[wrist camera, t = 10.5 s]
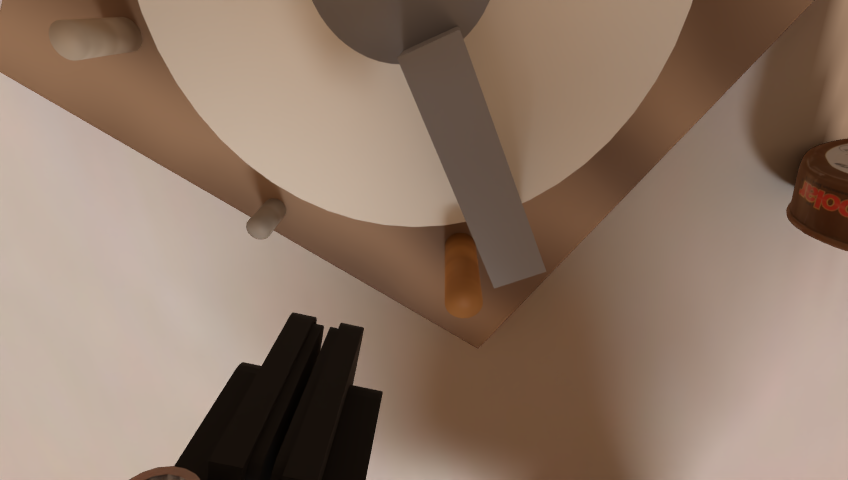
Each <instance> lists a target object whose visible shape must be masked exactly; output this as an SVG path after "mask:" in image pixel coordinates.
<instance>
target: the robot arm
mask: <svg viewBox="0 0 848 480" xmlns="http://www.w3.org/2000/svg"><path fill="white" fill-rule="evenodd" d="M316 321H317V320H316V317H312V316H307V315H303V314H298V313H292V314H291V315H290V317H289V318H288V320H287V322H286V324H285V326H284V327H283V329H282V331H281V333H280V334H279V336H278V338H277V340H276V342H275V343H274V345H273V347H272V349H271V350H270V352H269V354H268V356H267V357H266V359H265V361H264V363H263V365H262V366H258V365H254V364H249V363H244V362H242V363H241V364H239V366H238V367H237V368H236V370H235V371H234V373H233V374H232V376H231V378H230V379H229V381H228V382H227V384H226V385H225V387H224V389H223V390H222V392H221V393H220V395H219V396H218V398H217V400H216V401H215V403H214V404H213V406H212V408H211V409H210V411H209V412H208V414H207V415H206V417H205V419H204V420H203V422H202V423H201V425H200V426H199V428H198V430H197V431H196V433H195V434H194V436H193V437H192V439H191V441H190V442H189V444H188V445H187V447H186V448H185V450H184V452H183V453H182V455H181V456H180V458H179V460H178V461H177V463H176V464H175V466H170V467H158V468H155V469H151V470H148V471H145V472H142V473H140V474H139V475H137V476H135V477H133V478H131V479H130V480H366V475H367V470H368V465H369V460H370V454H371V449H372V444H373V439H374V434H375V429H376V424H377V419H378V413H379V408H380V403H381V398H382V391H377V390H372V389H368V388H363V387H358V386H353V381H354V376H355V371H356V366H357V361H358V356H359V351H360V346H361V341H362V336H363V330H364V328H363V327H358V326H354V325H349V324H344V323H341V324H340V326H339V328H338V329H337V328H333V327H330V329H329V331H328V333H327V336H326V338H325V341H324V343H323V346H322V348H321V343H322V337H323V330H324V326H323V325H319V324H316ZM320 350H321V351H320Z"/></svg>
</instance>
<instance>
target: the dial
mask: <svg viewBox="0 0 848 480" xmlns="http://www.w3.org/2000/svg"><path fill="white" fill-rule="evenodd" d="M692 1H693V0H138V3H139V6H140V9H141V12H142V15H143V17H144V19H145V21H146V24H147V26H148V28H149V31H150V33H151V35H152V38H153V40H154V42H155V44H156V47H157V49H158V51H159V53H160V55H161V56H162V58H163V60H164V62H165V63H166V65H167V67H168V69H169V71H170V72H171V74H172V76H173V78H174V79H175V81H176V83H177V84H178V86H179V87H180V89H181V90H182V92H183V93H184V94H185V96H186V97H187V99H188V100H189V101H190V103H191V104H192V106H193V107H194V109H195V110H196V111H197V113H198V114H199V115H200V116H201V118H202V119H203V120H204V121H205V122H206V123H207V124H208V125H209V127H210V128H211V129H212V130H213V131H214V132H215V133H216V135H217V136H218V137H219V138H220V139H221V140H222V141H223V142H224V143H225V144H226V145H227V146H228V147H229V148H230V149H231V150H233V151H234V152H235V153H236V154H237V155H238V156H239V157H240V158H241V159H242V160H243V161H244V162H246V163H247V164H248V165H249V166H251V167H252V168H253V169H255V170H256V171H257V172H259V173H260V174H262V175H263V176H264V177H266V178H267V179H268V180H270V181H271V182H272V183H274V184H276V185H277V186H279V187H281V188H283V189H284V190H286V191H288V192H289V193H291V194H293V195H295V196H296V197H298V198H300V199H302V200H304V201H307V202H309V203H311V204H313V205H316V206H318V207H320V208H322V209H325V210H327V211H330V212H333V213H336V214H340V215H343V216H346V217H349V218H352V219H356V220H361V221H366V222H371V223H377V224H382V225H392V226H406V227H425V226H444V225H450V224H456V223H461V222H466V223H467V225H468V228H469V230H470V232H471V235H472V237H473V239H474V242H475V244H476V247H477V249H478V251H479V254H480V256H481V258H482V261H483V263H484V265H485V268H486V270H487V273H488V275H489V277H490V280H491V282H492V284H493V287H494V289H495V288H498V287H501V286H504V285H507V284H510V283H513V282H516V281H519V280H522V279H525V278H528V277H531V276H535V275H538V274H541V273H544V272H546V269H545V266H544V263H543V261H542V258H541V255H540V252H539V249H538V247H537V244H536V241H535V238H534V235H533V233H532V230H531V227H530V224H529V221H528V219H527V216H526V213H525V210H524V207H523V205H522V203H524V202H526V201H529V200H531V199H532V198H534V197H536V196H538V195H539V194H541V193H543V192H545V191H546V190H548V189H550V188H552V187H553V186H555V185H557V184H558V183H560V182H561V181H563V180H564V179H565V178H567V177H568V176H569V175H571V174H572V173H573V172H575V171H576V170H577V169H579V168H580V167H581V166H583V165H584V164H585V163H586V162H588V161H589V160H590V159H591V158H592V157H593V156H594V155H595V154H596V153H597V152H598V151H599V150H600V149H602V148H603V147H604V146H605V145H606V144H607V143H608V142H609V141H610V140H611V139H612V138H613V137H614V135H615V134H616V133H617V132H618V131H619V130H620V129H621V127H622V126H623V125H624V124H625V123H626V122H627V120H628V119H629V118H630V117H631V116H632V115H633V113H634V112H635V111H636V109H637V108H638V106H639V105H640V103H641V102H642V101H643V99H644V98H645V96H646V95H647V93H648V92H649V90H650V89H651V87H652V86H653V85H654V83H655V82H656V80H657V78H658V76H659V74H660V72H661V71H662V69H663V67H664V65H665V63H666V61H667V60H668V58H669V56H670V54H671V52H672V50H673V48H674V47H675V44H676V42H677V39H678V37H679V35H680V32H681V30H682V27H683V25H684V22H685V20H686V17H687V15H688V12H689V10H690V8H691V5H692Z"/></svg>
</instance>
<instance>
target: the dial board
mask: <svg viewBox="0 0 848 480" xmlns="http://www.w3.org/2000/svg"><path fill="white" fill-rule="evenodd" d="M813 1H814V0H693V1H692V5H691V8H690V10H689V12H688V15H687V17H686V20H685V22H684V25H683V27H682V30H681V32H680V35H679V37H678V39H677V42H676V44H675V47H674V48H673V50H672V52H671V54H670V56H669V58H668V60H667V61H666V63H665V65H664V67H663V69H662V71H661V72H660V74H659V76H658V78H657V80H656V82H655V83H654V85H653V86H652V87H651V89H650V90H649V92H648V93H647V95H646V96H645V98H644V99H643V101H642V102H641V103H640V105H639V106H638V108H637V109H636V111H635V112H634V113H633V115H632V116H631V117H630V118H629V119H628V120H627V122H626V123H625V124H624V125H623V126H622V127H621V129H620V130H619V131H618V132H617V133H616V134H615V135H614V137H613V138H612V139H611V140H610V141H609V142H608V143H607V144H606V145H605V146H604V147H603V148H602V149H600V150H599V151H598V152H597V153H596V154H595V155H594V156H593V157H592V158H591V159H590V160H589V161H588V162H586V163H585V164H584V165H583V166H581V167H580V168H579V169H577V170H576V171H575V172H573V173H572V174H571V175H569V176H568V177H567V178H565V179H564V180H563V181H561V182H560V183H558V184H557V185H555V186H553V187H552V188H550V189H548V190H546V191H545V192H543V193H541V194H539V195H538V196H536V197H534V198H532V199H531V200H529V201H526V202H524V203H522V205H523V207H524V210H525V213H526V216H527V219H528V221H529V224H530V227H531V230H532V233H533V235H534V238H535V241H536V244H537V247H538V249H539V252H540V255H541V258H542V261H543V263H544V266H545V269H546V272H544V273H541V274H538V275H535V276H531V277H528V278H525V279H522V280H519V281H516V282H513V283H510V284H507V285H504V286H501V287H498V288H495V289H494V287H493V284H492V282H491V280H490V277H489V275H488V273H487V270H486V268H485V265H484V263H483V261H482V258H481V256H480V254H479V251H478V249H477V247H476V244H475V242H474V239H473V237H472V235H471V232H470V230H469V228H468V225H467V223H466V222H461V223H456V224H450V225H444V226H425V227H406V226H392V225H382V224H377V223H371V222H366V221H361V220H356V219H352V218H349V217H346V216H343V215H340V214H336V213H333V212H330V211H327V210H325V209H322V208H320V207H318V206H316V205H313V204H311V203H309V202H307V201H304V200H302V199H300V198H298V197H296V196H295V195H293V194H291V193H289V192H288V191H286V190H284V189H283V188H281V187H279V186H277V185H276V184H274V183H272V182H271V181H270V180H268V179H267V178H266V177H264V176H263V175H262V174H260V173H259V172H257V171H256V170H255V169H253V168H252V167H251V166H249V165H248V164H247V163H246V162H244V161H243V160H242V159H241V158H240V157H239V156H238V155H237V154H236V153H235V152H234V151H233V150H231V149H230V148H229V147H228V146H227V145H226V144H225V143H224V142H223V141H222V140H221V139H220V138H219V137H218V136H217V135H216V133H215V132H214V131H213V130H212V129H211V128H210V127H209V125H208V124H207V123H206V122H205V121H204V120H203V119H202V118H201V116H200V115H199V114H198V113H197V111H196V110H195V109H194V107H193V106H192V104H191V103H190V101H189V100H188V99H187V97H186V96H185V94H184V93H183V92H182V90H181V89H180V87H179V86H178V84H177V83H176V81H175V79H174V78H173V76H172V74H171V72H170V71H169V69H168V67H167V65H166V63H165V62H164V60H163V58H162V56H161V55H160V53H159V51H158V49H157V47H156V44H155V42H154V40H153V38H152V35H151V33H150V31H149V28H148V26H147V24H146V21H145V19H144V17H143V15H142V12H141V9H140V6H139V3H138V0H2V5H1V10H0V72H1V73H3V74H4V75H6V76H8V77H10V78H11V79H13V80H15V81H17V82H18V83H20V84H22V85H23V86H25V87H27V88H29V89H30V90H32V91H34V92H36V93H37V94H39V95H41V96H42V97H44V98H46V99H48V100H49V101H51V102H53V103H55V104H56V105H58V106H60V107H61V108H63V109H65V110H67V111H68V112H70V113H72V114H74V115H75V116H77V117H79V118H80V119H82V120H84V121H86V122H87V123H89V124H91V125H93V126H94V127H96V128H98V129H99V130H101V131H103V132H105V133H106V134H108V135H110V136H112V137H113V138H115V139H117V140H119V141H120V142H122V143H124V144H125V145H127V146H129V147H131V148H132V149H134V150H136V151H138V152H139V153H141V154H143V155H144V156H146V157H148V158H150V159H151V160H153V161H155V162H157V163H158V164H160V165H162V166H163V167H165V168H167V169H169V170H170V171H172V172H174V173H176V174H177V175H179V176H181V177H182V178H184V179H186V180H188V181H189V182H191V183H193V184H195V185H196V186H198V187H200V188H201V189H203V190H205V191H207V192H208V193H210V194H212V195H214V196H215V197H217V198H219V199H220V200H222V201H224V202H226V203H227V204H229V205H231V206H233V207H234V208H236V209H238V210H239V211H241V212H243V213H245V214H246V215H248V216H250V217H251V218H250V219H249V221H248V222H247V225H246V228H247V231H248V233H249V234H250V235H251V236H252V237H254V238H256V239H266V238H268V237H269V236H270V234H271V233H272V232H273V230H274V231H276V232H278V233H279V234H281V235H283V236H284V237H286V238H288V239H290V240H291V241H293V242H295V243H297V244H298V245H300V246H302V247H303V248H305V249H307V250H309V251H310V252H312V253H314V254H316V255H317V256H319V257H321V258H322V259H324V260H326V261H328V262H329V263H331V264H333V265H335V266H336V267H338V268H340V269H341V270H343V271H345V272H347V273H348V274H350V275H352V276H354V277H355V278H357V279H359V280H360V281H362V282H364V283H366V284H367V285H369V286H371V287H373V288H374V289H376V290H378V291H379V292H381V293H383V294H385V295H386V296H388V297H390V298H392V299H393V300H395V301H397V302H398V303H400V304H402V305H404V306H405V307H407V308H409V309H411V310H412V311H414V312H416V313H418V314H419V315H421V316H423V317H424V318H426V319H428V320H430V321H431V322H433V323H435V324H437V325H438V326H440V327H442V328H443V329H445V330H447V331H449V332H450V333H452V334H454V335H456V336H457V337H459V338H461V339H462V340H464V341H466V342H468V343H469V344H471V345H473V346H475V347H476V348H479V347H480V346H481V345H482V344H483V343H484V342H485V341H486V340H487V339H488V338H489V337H490V336H491V335H492V334H493V333H494V332H495V331H496V330H497V328H498V327H499V326H500V325H501V324H502V323H503V322H504V321H505V320H506V319H507V318H508V317H509V316H510V315H511V314H512V313H513V312H514V311H515V310H516V309H517V308H518V307H519V306H520V305H521V304H522V303H523V302H524V301H525V299H526V298H527V297H528V296H529V295H530V294H531V293H532V292H533V291H534V290H535V289H536V288H537V287H538V286H539V285H540V284H541V283H542V282H543V281H544V280H545V279H546V278H547V277H548V276H549V275H550V274H551V273H552V272H553V270H554V269H555V268H556V267H557V266H558V265H559V264H560V263H561V262H562V261H563V260H564V259H565V258H566V257H567V256H568V255H569V254H570V253H571V252H572V251H573V250H574V249H575V248H576V247H577V246H578V245H579V244H580V243H581V241H582V240H583V239H584V238H585V237H586V236H587V235H588V234H589V233H590V232H591V231H592V230H593V229H594V228H595V227H596V226H597V225H598V224H599V223H600V222H601V221H602V220H603V219H604V218H605V217H606V216H607V215H608V214H609V212H610V211H611V210H612V209H613V208H614V207H615V206H616V205H617V204H618V203H619V202H620V201H621V200H622V199H623V198H624V197H625V196H626V195H627V194H628V193H629V192H630V191H631V190H632V189H633V188H634V187H635V186H636V185H637V183H638V182H639V181H640V180H641V179H642V178H643V177H644V176H645V175H646V174H647V173H648V172H649V171H650V170H651V169H652V168H653V167H654V166H655V165H656V164H657V163H658V162H659V161H660V160H661V159H662V158H663V157H664V156H665V154H666V153H667V152H668V151H669V150H670V149H671V148H672V147H673V146H674V145H675V144H676V143H677V142H678V141H679V140H680V139H681V138H682V137H683V136H684V135H685V134H686V133H687V132H688V131H689V130H690V129H691V128H692V127H693V125H694V124H695V123H696V122H697V121H698V120H699V119H700V118H701V117H702V116H703V115H704V114H705V113H706V112H707V111H708V110H709V109H710V108H711V107H712V106H713V105H714V104H715V103H716V102H717V101H718V100H719V99H720V98H721V96H722V95H723V94H724V93H725V92H726V91H727V90H728V89H729V88H730V87H731V86H732V85H733V84H734V83H735V82H736V81H737V80H738V79H739V78H740V77H741V76H742V75H743V74H744V73H745V72H746V71H747V70H748V69H749V67H750V66H751V65H752V64H753V63H754V62H755V61H756V60H757V59H758V58H759V57H760V56H761V55H762V54H763V53H764V52H765V51H766V50H767V49H768V48H769V47H770V46H771V45H772V44H773V43H774V42H775V41H776V40H777V38H778V37H779V36H780V35H781V34H782V33H783V32H784V31H785V30H786V29H787V28H788V27H789V26H790V25H791V24H792V23H793V22H794V21H795V20H796V19H797V18H798V17H799V16H800V15H801V14H802V13H803V12H804V11H805V9H806V8H807V7H808V6H809V5H810V4H811V3H812V2H813Z"/></svg>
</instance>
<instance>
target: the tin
mask: <svg viewBox="0 0 848 480" xmlns="http://www.w3.org/2000/svg"><path fill="white" fill-rule="evenodd" d="M786 213H787V217H788V219H789V221H790V222H791V223H792V224H793V225H794V226H795V227H796V228H798V229H799V230H801V231H802V232H803V233H805V234H807V235H809V236H811V237H813V238H815V239H817V240H819V241H821V242H824V243H826V244H829V245H831V246H833V247H836V248H839V249H842V250H845V251H848V139H842V140H836V141H831V142H827V143H824V144H821V145H818V146H816V147H813V148H812V149H810V150H809V151H808V152H807V153H806V154H805V155H804V156H803V159H802V161H801V163H800V167H799V170H798V173H797V178H796V182H795V187H794V192H793V196H792V201H791V202H790V203H789V205H788V207H787V210H786Z"/></svg>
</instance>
